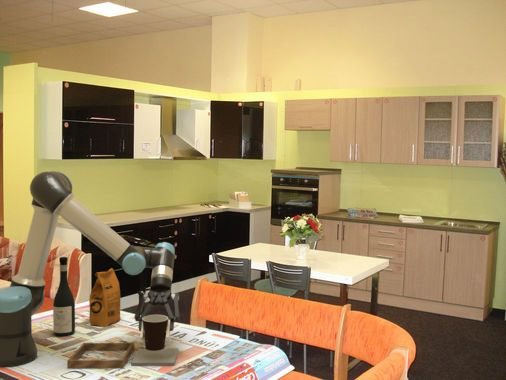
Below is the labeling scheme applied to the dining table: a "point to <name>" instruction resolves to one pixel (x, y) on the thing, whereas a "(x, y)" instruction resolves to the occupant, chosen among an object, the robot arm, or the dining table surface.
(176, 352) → the slate coaster
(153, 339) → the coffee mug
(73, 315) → the wine bottle
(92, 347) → the walnut collar
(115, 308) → the coffee package
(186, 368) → the dining table surface
